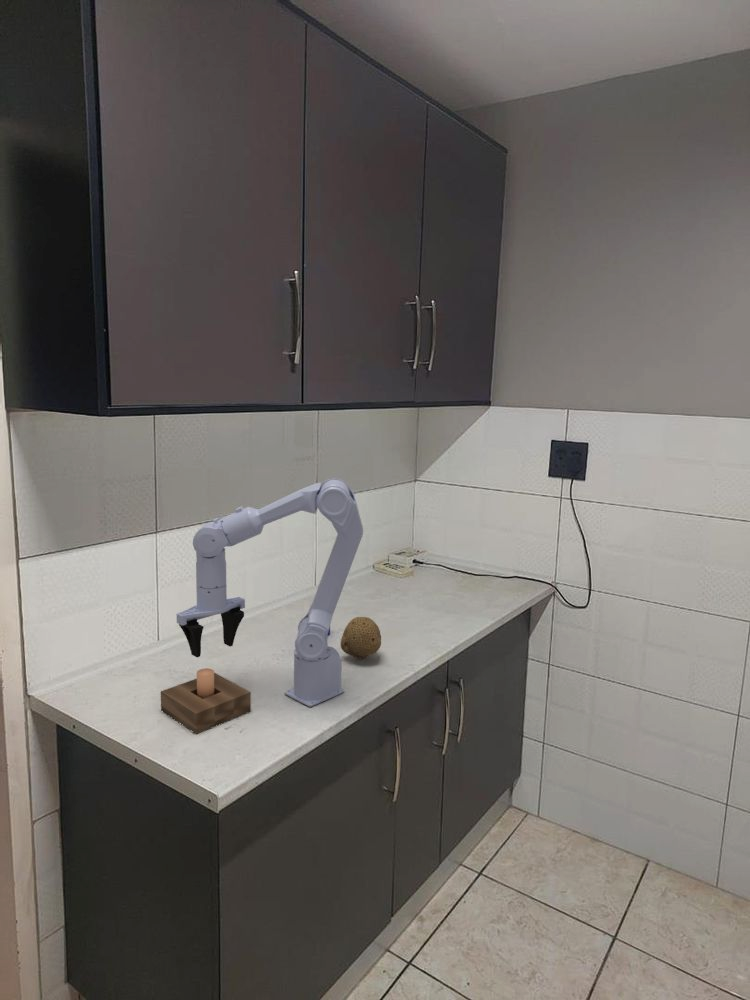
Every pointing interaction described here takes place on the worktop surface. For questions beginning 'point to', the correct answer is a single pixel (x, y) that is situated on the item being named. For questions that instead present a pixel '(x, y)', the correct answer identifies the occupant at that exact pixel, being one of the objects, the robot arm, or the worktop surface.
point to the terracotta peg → (205, 683)
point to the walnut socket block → (205, 704)
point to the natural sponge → (361, 638)
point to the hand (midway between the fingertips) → (212, 650)
